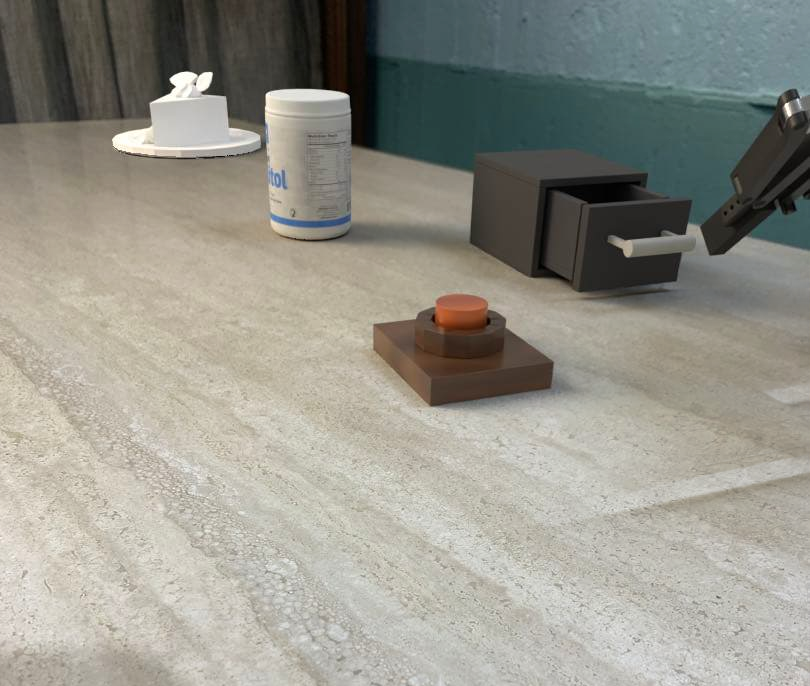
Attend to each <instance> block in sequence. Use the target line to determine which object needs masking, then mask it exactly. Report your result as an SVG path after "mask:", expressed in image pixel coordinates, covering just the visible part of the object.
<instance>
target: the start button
mask: <svg viewBox="0 0 810 686" xmlns="http://www.w3.org/2000/svg"><path fill="white" fill-rule="evenodd" d="M434 307H435V324H436V325H437V326H441V327H444V328H448V329H455V330H472V329H480V328H483V327H485V326H487V314H488V310H489V302H488V300H487V299H485V298H484V297H481V296H478V295H473V294H466V293H452V294H450V293H449V294H445V295H442V296H439V297H438V298H437V299H436V300H435V306H434Z"/></svg>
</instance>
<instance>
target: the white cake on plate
mask: <svg viewBox="0 0 810 686" xmlns="http://www.w3.org/2000/svg"><path fill="white" fill-rule="evenodd" d="M213 76H214V74H213V72H212V71H207V72H202V73H201V74H200V75H198V74H196V73H194V72H191V71H183V72H182V71H181V72H178V73H175V74H174V75H172V76H171V77H170V78H169V82H170V83H171V84H172V85H173V86H175V87H174V88H173V89H171V92H170V93H168V94H166V95H164V96H162V97H159V98H157V99H155V100H153V101H151V102H149V111H150V119H151V126H150V127H148V128H146V127H145V128H142V129H135V130H128V131H125V132H121V133H118V134H116V135H115V136H114V137H113V138H112V147H113V146H114V147H115V148H117V149H118V150H122V151H126V152H131V153H141V154H148V155H157V156H176V157H196V156H198V157H199V156H201V157H202V156H225V157H230V156H229V155H234V156H238V155H237V154H239V155H244V154H249V153H252V152H254V151H256V150H259V149H261V147H262V146H261V145H262V142H261V141H262V139H261V135H260V134H258V133H256V132H254V131H251V130H246V129H240V128H234V127H230V126H229V114H228V102H227V96H225V95H224V96H223V95H212V94H203V93H202V92H205V91H206V90H207V89H209V88H210V85H211V84H212V80H213ZM195 84H196V85H195ZM114 147H113V148H114ZM115 148H114V149H115ZM248 152H249V153H248ZM243 153H244V154H243ZM227 155H228V156H227Z"/></svg>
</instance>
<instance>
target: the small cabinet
mask: <svg viewBox="0 0 810 686" xmlns="http://www.w3.org/2000/svg"><path fill="white" fill-rule="evenodd" d="M473 162H474V163H473V178H472V180H473V181H472V195H471V210H470V212H471V213H470V226H469V227H470V230H469V243H470V244H472V245H473V246H475V247H477V248H478V249H480V250H482V251H483V252H485V253H487V254H489V255H490V256H492V257H494V258H496V259H497V260H499V261H501V262H502V263H504V264H506V265H507V266H509V267H511V268H513V269H514V270H516V271H518V272H520V273H521V274H522V275H524V276H526V277H528V278H531V279H532V278H542V277H550V276H551V277H552V276H561V275H560V274H558V273H556V272H554V271H552V270H550V269H549V268H547V267H545V266H543V265H541V264H540V263H538V262H539V253H540V243H541V234H542V224H543V215H544V205H545V196H546V188H547V187H562V186H577V185H592V184H607V183H622V182H629V183H632V184H634V185H637V186H640V187H643V188H646V189H647V184H648V177H649V172H648V171H645V170H641V169H638V168H635V167H632V166H629V165H626V164H623V163H619V162H617V161H613V160H610V159H607V158H604V157H601V156H598V155H595V154H592V153H588V152H586V151H582V150H579V149H577V148H573V147H572V148H555V149H535V150H517V151H515V150H514V151H497V152H494V151H493V152H476V153H474V161H473Z"/></svg>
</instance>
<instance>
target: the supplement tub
mask: <svg viewBox="0 0 810 686" xmlns="http://www.w3.org/2000/svg"><path fill="white" fill-rule="evenodd" d="M350 99H351V98H350V95H349V94H347V93H345V92H342V91H336V90H327V89H314V88H288V89H287V88H285V89H277V90H276V89H275V90H271V91H268V92H267V93H266V94H265V106H264V117H265V118H264V120H265V141H266V143H265V144H266V160H267V179H268V197H269V199H268V200H269V201H268V202H269V213H270V215H269V216H270V225H271V228H272V229H273V231H274V232H275V233H277V234H278V235H280V236H283V237H288V238H290V239H295V238H296V239H297V240H304V239H305V241H315V240H316V241H317V240H327V239H328V240H329V239H334V238H338V237H341V236H343V235H345V234H346V233H348V232H349V231H350V229H351V227H352V114H351V112H352V109H351V101H350Z"/></svg>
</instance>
